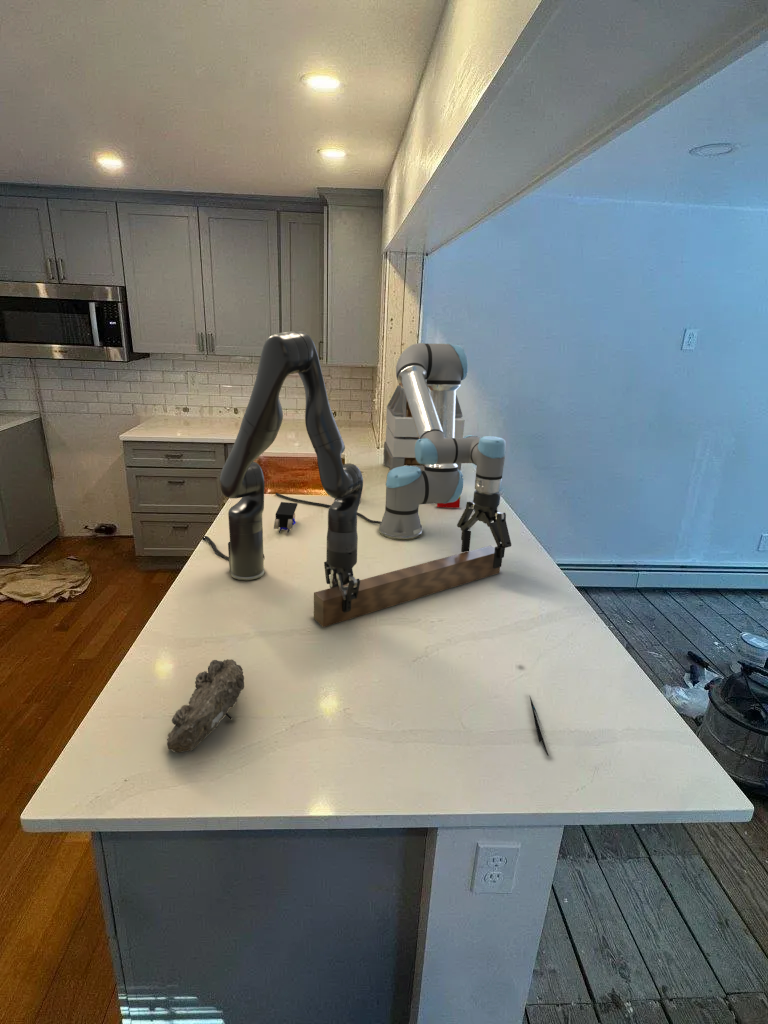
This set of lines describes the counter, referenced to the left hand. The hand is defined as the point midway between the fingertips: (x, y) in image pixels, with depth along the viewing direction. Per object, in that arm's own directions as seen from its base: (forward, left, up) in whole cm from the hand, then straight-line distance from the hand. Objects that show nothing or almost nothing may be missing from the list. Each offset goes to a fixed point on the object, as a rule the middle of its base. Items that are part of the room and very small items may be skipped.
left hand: (340, 606), depth 144 cm
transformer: (-61, +126, -3) cm, 140 cm away
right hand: (+15, +46, +3) cm, 48 cm away
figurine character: (-54, +33, -3) cm, 63 cm away
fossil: (+7, -44, -3) cm, 45 cm away
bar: (+7, +23, -3) cm, 24 cm away
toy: (-32, +103, -3) cm, 108 cm away
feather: (+53, -1, -3) cm, 53 cm away
